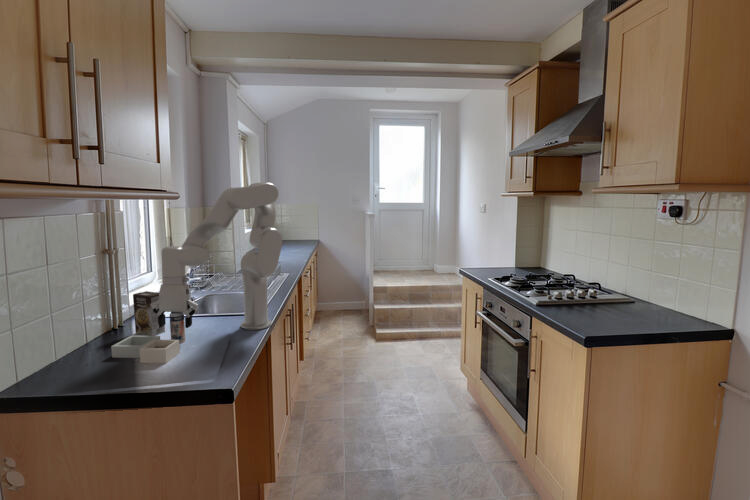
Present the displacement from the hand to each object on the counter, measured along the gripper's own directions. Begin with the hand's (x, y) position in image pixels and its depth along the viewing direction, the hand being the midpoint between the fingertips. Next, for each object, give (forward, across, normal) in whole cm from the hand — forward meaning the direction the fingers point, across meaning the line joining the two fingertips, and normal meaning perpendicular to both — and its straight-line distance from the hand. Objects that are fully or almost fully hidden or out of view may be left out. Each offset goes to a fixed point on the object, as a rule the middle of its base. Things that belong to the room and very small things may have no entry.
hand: (175, 326), depth 142 cm
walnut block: (+6, -3, +14) cm, 16 cm away
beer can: (+7, -1, -1) cm, 7 cm away
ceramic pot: (+7, -3, +14) cm, 16 cm away
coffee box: (+7, +16, -12) cm, 21 cm away
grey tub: (+7, +8, +9) cm, 14 cm away
